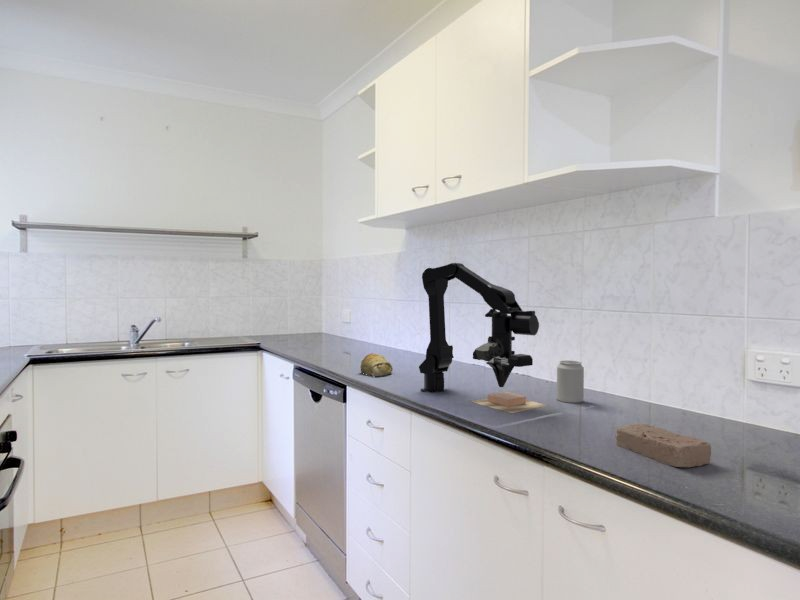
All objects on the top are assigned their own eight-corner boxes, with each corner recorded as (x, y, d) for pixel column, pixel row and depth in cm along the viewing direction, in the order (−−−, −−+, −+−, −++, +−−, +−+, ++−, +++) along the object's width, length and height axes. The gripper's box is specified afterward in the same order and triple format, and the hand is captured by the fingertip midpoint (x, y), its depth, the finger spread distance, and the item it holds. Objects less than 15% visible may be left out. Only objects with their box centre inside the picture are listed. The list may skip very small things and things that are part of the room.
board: (470, 403, 145) (470, 401, 145) (506, 397, 153) (506, 395, 153) (511, 415, 132) (511, 413, 132) (549, 407, 140) (549, 405, 140)
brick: (613, 445, 108) (613, 423, 108) (642, 441, 111) (643, 420, 111) (681, 472, 92) (681, 447, 92) (713, 466, 95) (713, 442, 95)
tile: (488, 394, 144) (508, 399, 138) (505, 391, 148) (525, 396, 142) (487, 401, 144) (508, 407, 138) (505, 398, 148) (525, 403, 142)
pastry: (365, 370, 202) (365, 350, 201) (395, 371, 199) (395, 351, 199) (355, 377, 188) (355, 355, 187) (388, 378, 185) (388, 356, 185)
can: (585, 405, 142) (586, 363, 142) (558, 404, 144) (558, 362, 143) (581, 399, 150) (581, 359, 149) (555, 398, 151) (555, 359, 151)
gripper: (459, 332, 148) (458, 384, 148) (505, 337, 132) (505, 396, 133) (486, 330, 154) (486, 380, 154) (534, 335, 138) (533, 391, 139)
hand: (501, 386), depth 145 cm, fingers closed
